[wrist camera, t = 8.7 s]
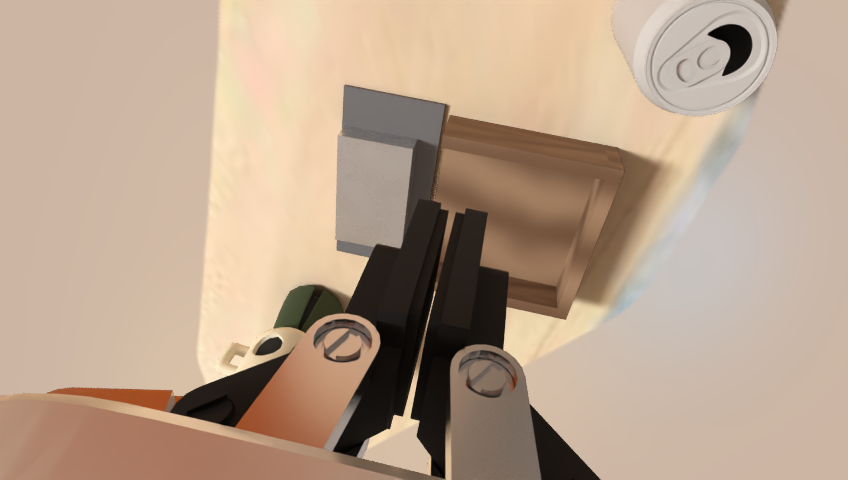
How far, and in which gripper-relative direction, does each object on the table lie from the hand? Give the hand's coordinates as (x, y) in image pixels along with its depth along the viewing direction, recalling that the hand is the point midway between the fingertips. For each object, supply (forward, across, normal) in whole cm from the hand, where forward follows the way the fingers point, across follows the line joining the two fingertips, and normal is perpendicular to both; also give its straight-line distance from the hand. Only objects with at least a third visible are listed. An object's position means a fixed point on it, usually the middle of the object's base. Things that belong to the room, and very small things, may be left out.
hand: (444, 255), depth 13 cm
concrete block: (+28, +8, +16) cm, 33 cm away
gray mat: (+28, +7, +15) cm, 33 cm away
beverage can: (+29, -10, -2) cm, 31 cm away
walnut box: (+28, -4, +15) cm, 33 cm away
